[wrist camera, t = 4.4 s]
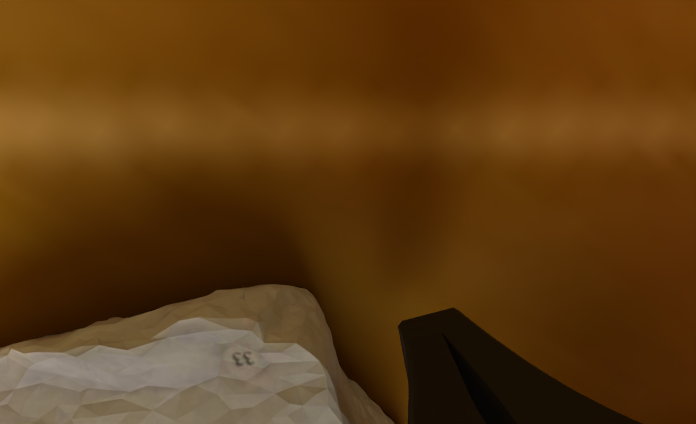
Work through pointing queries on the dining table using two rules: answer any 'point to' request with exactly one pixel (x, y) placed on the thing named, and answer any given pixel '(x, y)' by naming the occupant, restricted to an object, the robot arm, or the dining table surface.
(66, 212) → the dining table surface
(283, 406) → the stone block
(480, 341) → the robot arm
